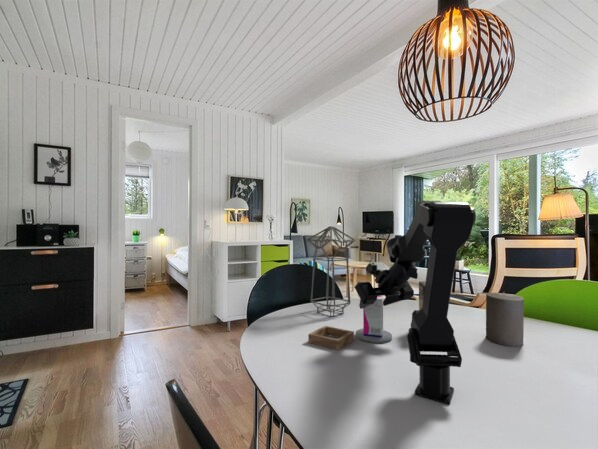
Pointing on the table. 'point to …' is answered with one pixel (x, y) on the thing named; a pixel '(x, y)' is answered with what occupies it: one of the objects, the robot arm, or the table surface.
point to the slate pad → (386, 337)
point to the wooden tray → (320, 339)
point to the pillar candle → (504, 319)
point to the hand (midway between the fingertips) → (372, 305)
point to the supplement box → (373, 319)
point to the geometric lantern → (332, 267)
